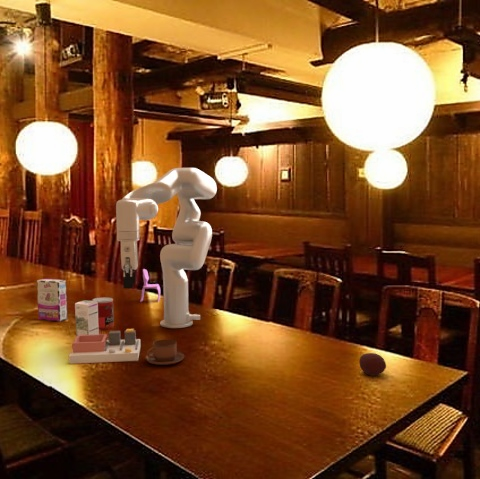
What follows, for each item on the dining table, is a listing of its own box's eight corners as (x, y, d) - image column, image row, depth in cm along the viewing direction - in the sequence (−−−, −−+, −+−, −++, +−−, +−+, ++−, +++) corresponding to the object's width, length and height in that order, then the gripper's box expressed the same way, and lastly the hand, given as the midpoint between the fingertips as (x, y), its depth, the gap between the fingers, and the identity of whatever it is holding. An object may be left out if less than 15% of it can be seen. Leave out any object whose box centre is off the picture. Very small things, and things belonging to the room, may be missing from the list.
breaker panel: (140, 346, 198) (140, 330, 197) (137, 360, 182) (137, 343, 181) (77, 348, 195) (76, 332, 195) (69, 363, 180) (68, 346, 179)
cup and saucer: (167, 370, 173) (167, 350, 172) (137, 364, 179) (137, 344, 179) (192, 359, 183) (191, 340, 182) (162, 354, 189) (162, 335, 189)
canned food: (109, 330, 219) (108, 301, 218) (89, 329, 221) (88, 301, 220) (117, 325, 227) (116, 297, 225) (98, 324, 228) (97, 296, 227)
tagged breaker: (135, 341, 194) (135, 328, 193) (135, 344, 191) (134, 330, 190) (125, 342, 194) (125, 328, 193) (124, 344, 191) (124, 331, 190)
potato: (381, 369, 173) (381, 349, 172) (389, 378, 164) (389, 357, 164) (356, 369, 172) (357, 349, 172) (363, 379, 164) (364, 358, 163)
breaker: (120, 342, 193) (120, 330, 193) (119, 344, 190) (119, 332, 190) (110, 342, 193) (109, 331, 193) (109, 345, 190) (108, 333, 190)
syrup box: (99, 341, 204) (98, 300, 203) (88, 345, 199) (87, 304, 197) (86, 339, 206) (85, 299, 205) (75, 344, 201) (74, 302, 200)
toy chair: (158, 302, 268) (157, 270, 267) (139, 302, 268) (138, 270, 267) (161, 298, 276) (160, 267, 275) (142, 299, 276) (141, 267, 275)
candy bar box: (68, 319, 237) (66, 279, 235) (60, 322, 232) (58, 281, 231) (46, 317, 241) (44, 278, 240) (37, 319, 237) (36, 280, 235)
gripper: (137, 238, 189) (138, 290, 190) (141, 233, 206) (142, 281, 207) (114, 238, 188) (115, 290, 190) (119, 233, 205) (120, 281, 207)
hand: (129, 285), depth 198 cm, fingers open, 9 cm apart
